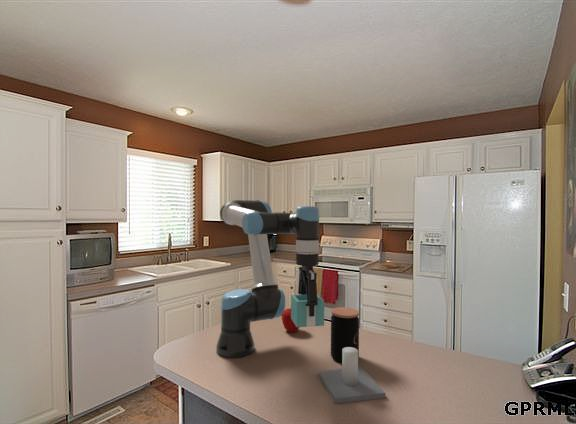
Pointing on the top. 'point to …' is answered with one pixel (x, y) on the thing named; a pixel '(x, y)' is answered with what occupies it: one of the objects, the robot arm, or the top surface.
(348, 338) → the coffee jar
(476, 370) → the top surface
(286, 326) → the apple
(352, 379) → the grey square base plate
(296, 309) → the teal storage bin
